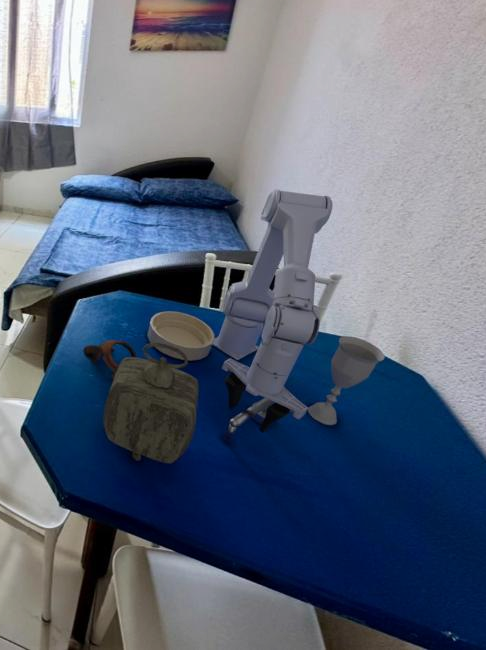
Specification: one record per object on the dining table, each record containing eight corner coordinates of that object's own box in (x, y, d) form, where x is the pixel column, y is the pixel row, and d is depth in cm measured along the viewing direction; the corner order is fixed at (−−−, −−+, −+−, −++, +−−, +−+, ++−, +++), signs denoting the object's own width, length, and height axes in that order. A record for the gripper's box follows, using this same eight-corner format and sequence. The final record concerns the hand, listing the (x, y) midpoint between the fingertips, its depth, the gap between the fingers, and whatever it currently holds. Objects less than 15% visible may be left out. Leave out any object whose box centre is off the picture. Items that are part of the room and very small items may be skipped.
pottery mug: (120, 352, 102) (138, 339, 95) (123, 389, 96) (142, 378, 90) (76, 342, 100) (91, 328, 93) (76, 379, 95) (92, 367, 88)
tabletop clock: (180, 447, 77) (218, 344, 65) (175, 487, 70) (216, 380, 58) (105, 418, 83) (127, 319, 71) (93, 453, 76) (115, 348, 64)
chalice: (349, 432, 82) (393, 364, 73) (312, 426, 83) (351, 358, 74) (331, 404, 88) (370, 339, 79) (296, 399, 89) (331, 333, 80)
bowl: (172, 319, 115) (176, 305, 112) (222, 350, 103) (227, 336, 101) (134, 334, 108) (138, 321, 106) (182, 370, 96) (187, 355, 94)
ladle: (257, 406, 87) (266, 386, 84) (278, 420, 84) (288, 400, 81) (213, 434, 80) (222, 413, 77) (234, 451, 77) (244, 430, 74)
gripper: (221, 348, 77) (202, 400, 83) (303, 399, 66) (273, 454, 72) (243, 337, 80) (223, 388, 86) (325, 384, 69) (294, 438, 75)
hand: (247, 417), depth 79 cm, fingers open, 6 cm apart
